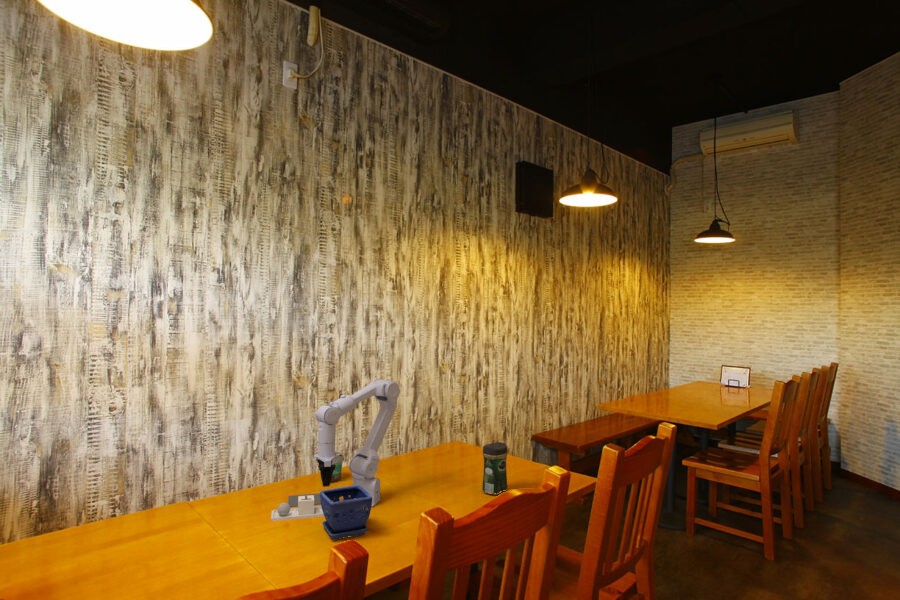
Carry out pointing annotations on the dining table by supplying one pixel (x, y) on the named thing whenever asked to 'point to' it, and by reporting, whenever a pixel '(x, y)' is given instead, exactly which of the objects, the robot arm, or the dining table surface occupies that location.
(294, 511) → the sorting tray
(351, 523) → the flower pot
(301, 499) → the letter cube
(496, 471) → the coffee jar
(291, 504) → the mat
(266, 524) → the dining table surface
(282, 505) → the grey ball
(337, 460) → the food container
